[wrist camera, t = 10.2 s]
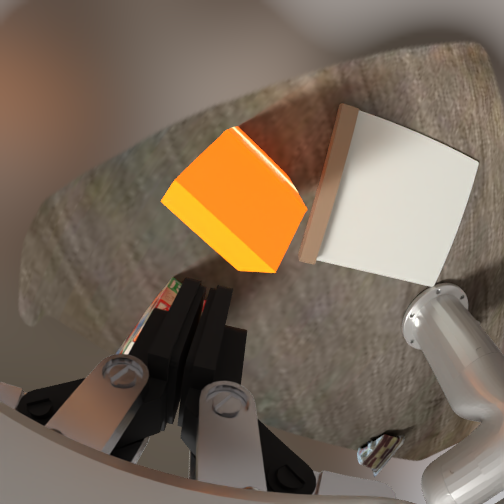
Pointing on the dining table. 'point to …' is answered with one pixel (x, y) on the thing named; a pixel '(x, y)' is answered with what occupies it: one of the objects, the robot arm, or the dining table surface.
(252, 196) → the orange juice
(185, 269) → the dining table surface
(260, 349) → the dining table surface
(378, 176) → the mat
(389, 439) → the chocolate cake
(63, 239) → the dining table surface
